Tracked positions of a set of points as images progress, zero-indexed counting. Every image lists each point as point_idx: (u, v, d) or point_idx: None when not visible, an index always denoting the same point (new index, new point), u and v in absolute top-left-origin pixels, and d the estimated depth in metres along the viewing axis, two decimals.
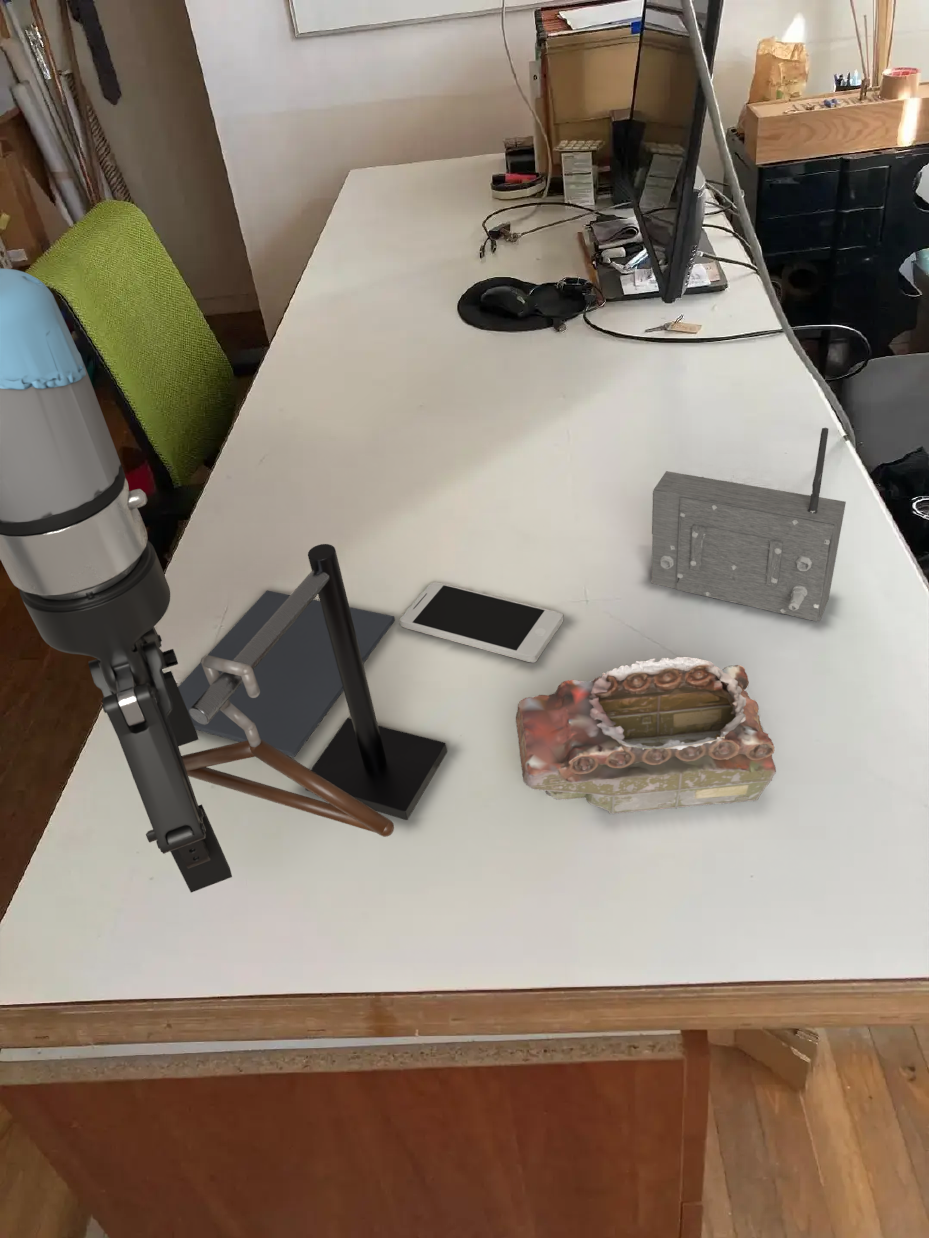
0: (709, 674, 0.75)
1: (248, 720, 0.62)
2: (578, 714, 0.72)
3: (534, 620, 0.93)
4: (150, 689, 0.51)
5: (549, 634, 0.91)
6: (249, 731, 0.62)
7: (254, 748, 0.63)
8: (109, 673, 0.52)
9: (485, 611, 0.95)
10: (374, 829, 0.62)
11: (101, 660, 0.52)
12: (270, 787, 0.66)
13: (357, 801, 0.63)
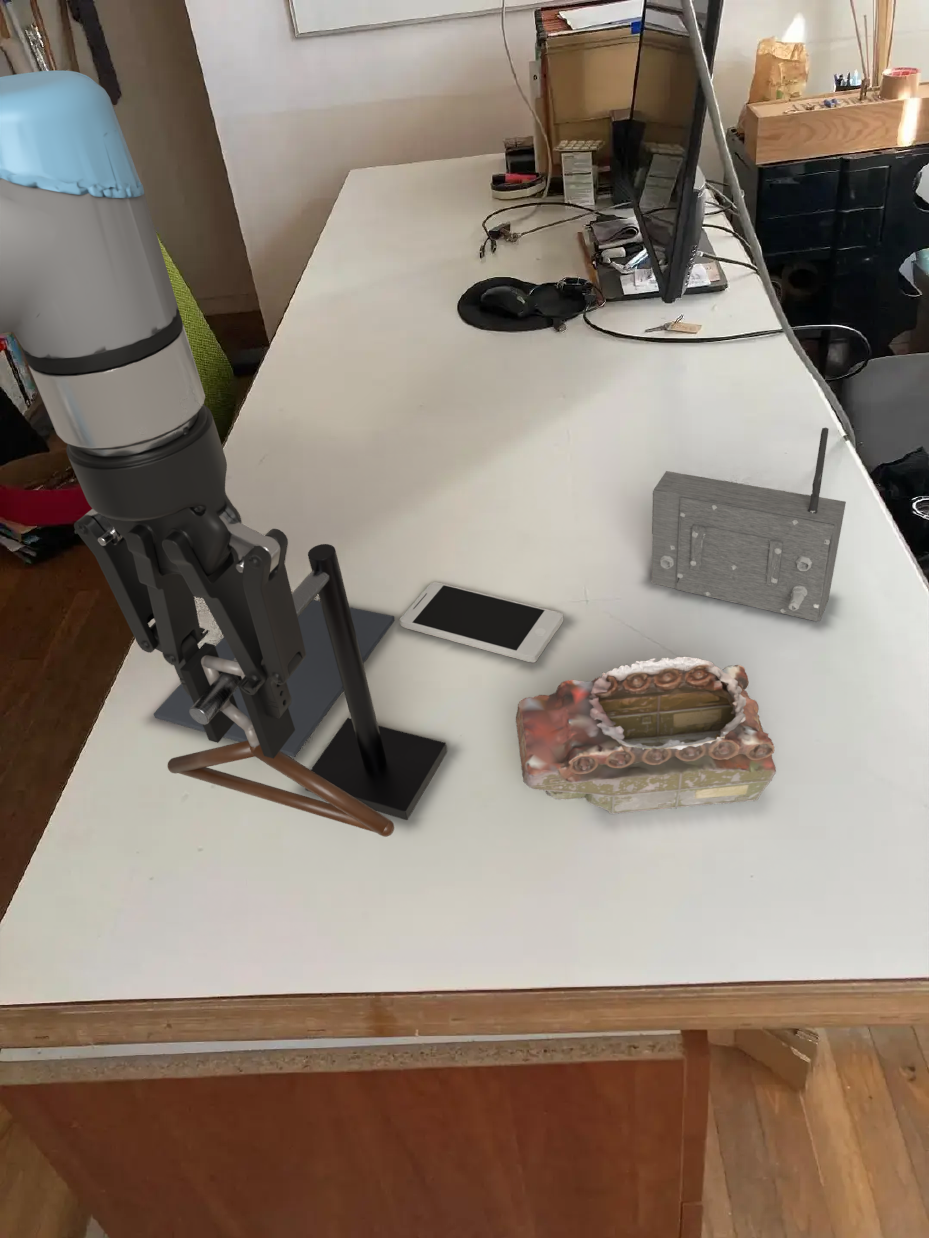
0: (709, 674, 0.75)
1: (248, 720, 0.62)
2: (578, 714, 0.72)
3: (534, 620, 0.93)
4: None
5: (549, 634, 0.91)
6: (249, 731, 0.62)
7: (254, 748, 0.63)
8: (223, 529, 0.49)
9: (485, 611, 0.95)
10: (374, 829, 0.62)
11: (207, 508, 0.48)
12: (270, 787, 0.66)
13: (357, 801, 0.63)
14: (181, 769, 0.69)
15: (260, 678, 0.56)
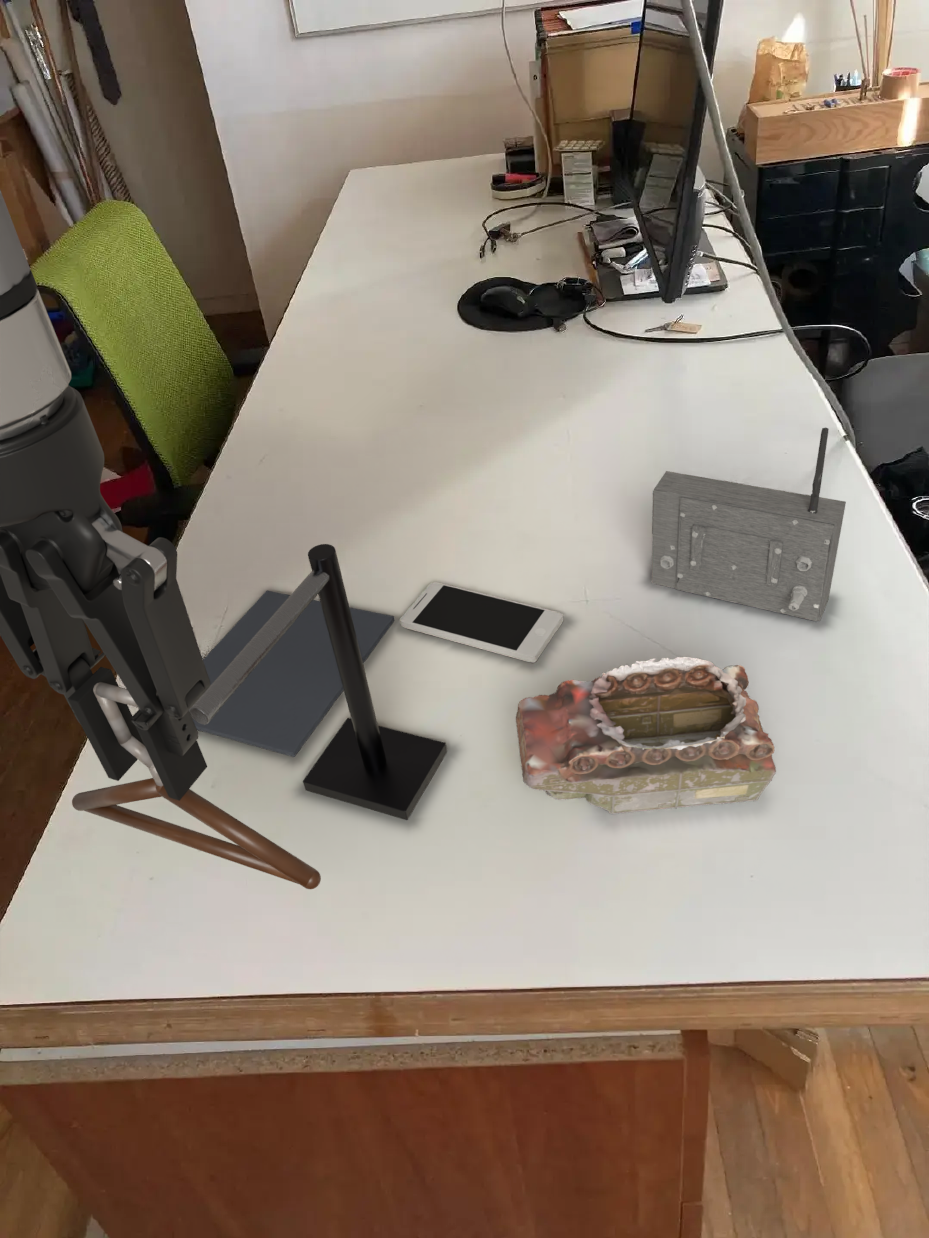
0: (709, 674, 0.75)
1: None
2: (578, 714, 0.72)
3: (534, 620, 0.93)
4: None
5: (549, 634, 0.91)
6: (153, 768, 0.54)
7: (160, 787, 0.55)
8: (97, 538, 0.41)
9: (485, 611, 0.95)
10: (297, 881, 0.55)
11: (74, 512, 0.40)
12: (184, 829, 0.58)
13: (278, 848, 0.55)
14: (86, 807, 0.61)
15: (155, 711, 0.48)
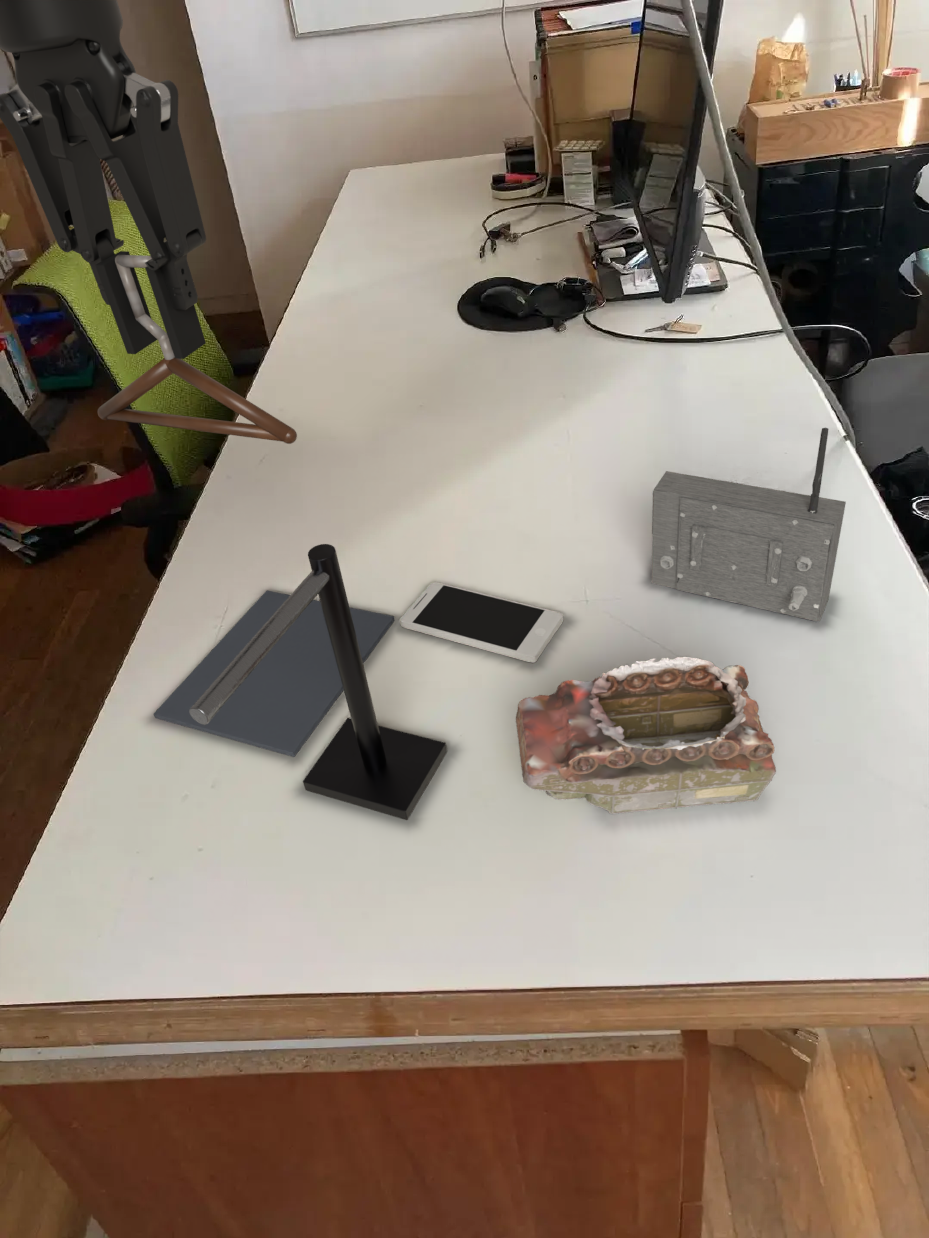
0: (709, 674, 0.75)
1: (162, 330, 0.67)
2: (578, 714, 0.72)
3: (534, 620, 0.93)
4: None
5: (549, 634, 0.91)
6: (162, 340, 0.67)
7: (168, 361, 0.68)
8: (117, 71, 0.55)
9: (485, 611, 0.95)
10: (278, 434, 0.68)
11: (101, 46, 0.54)
12: (188, 416, 0.72)
13: (263, 410, 0.69)
14: (109, 410, 0.74)
15: (163, 254, 0.61)
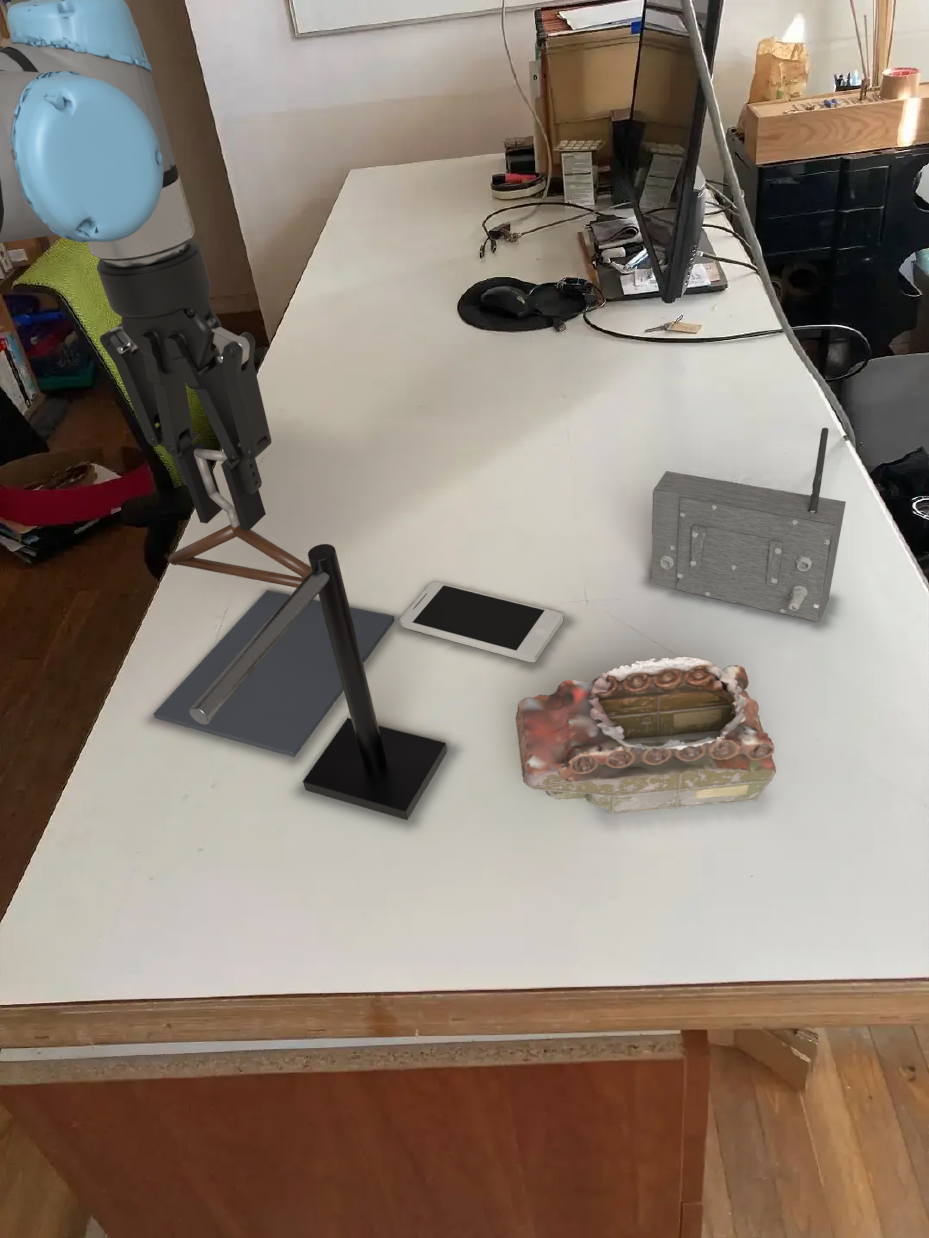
0: (709, 674, 0.75)
1: (230, 504, 0.81)
2: (578, 714, 0.72)
3: (534, 620, 0.93)
4: None
5: (549, 634, 0.91)
6: (230, 512, 0.81)
7: (234, 528, 0.82)
8: (208, 329, 0.69)
9: (485, 611, 0.95)
10: None
11: (196, 312, 0.68)
12: None
13: None
14: (179, 559, 0.88)
15: (237, 456, 0.75)
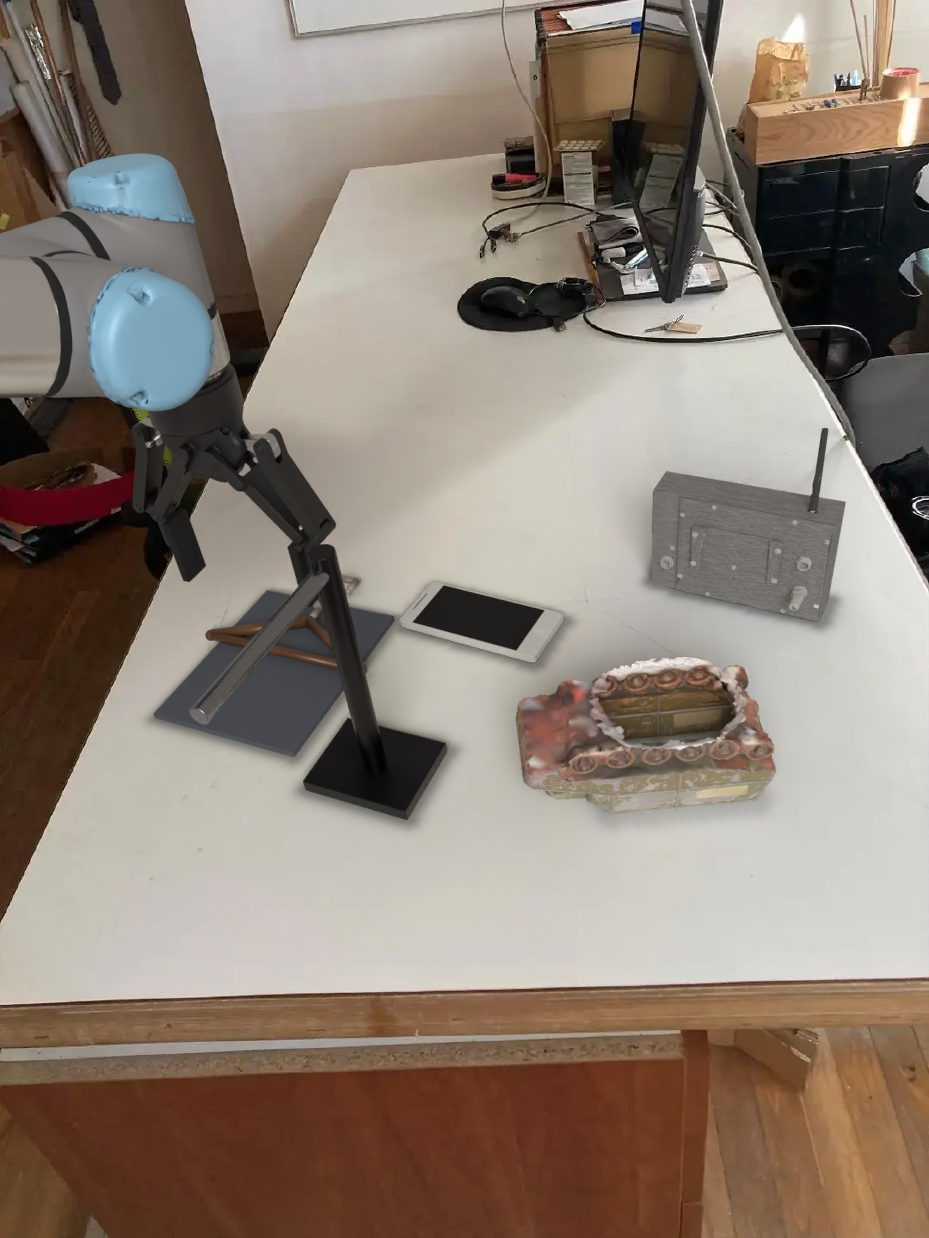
0: (709, 674, 0.75)
1: None
2: (578, 714, 0.72)
3: (534, 620, 0.93)
4: None
5: (549, 634, 0.91)
6: (319, 607, 0.98)
7: (311, 616, 0.97)
8: (237, 438, 0.74)
9: (485, 611, 0.95)
10: None
11: (231, 429, 0.74)
12: None
13: None
14: (222, 629, 0.96)
15: (301, 538, 0.78)
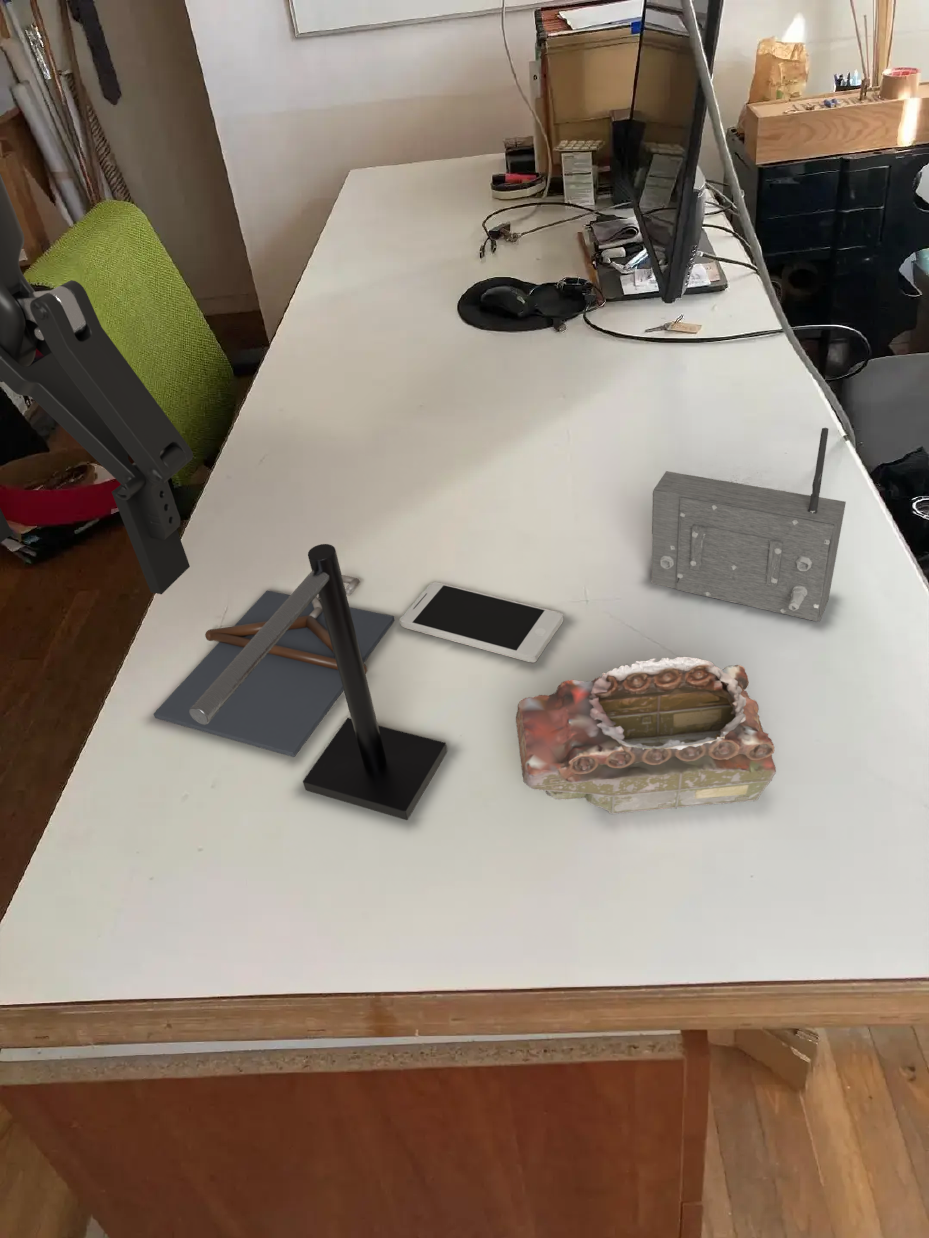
0: (709, 674, 0.75)
1: None
2: (578, 714, 0.72)
3: (534, 620, 0.93)
4: None
5: (549, 634, 0.91)
6: (319, 607, 0.98)
7: (311, 616, 0.97)
8: (7, 296, 0.43)
9: (485, 611, 0.95)
10: None
11: None
12: None
13: None
14: (222, 629, 0.96)
15: (132, 475, 0.46)
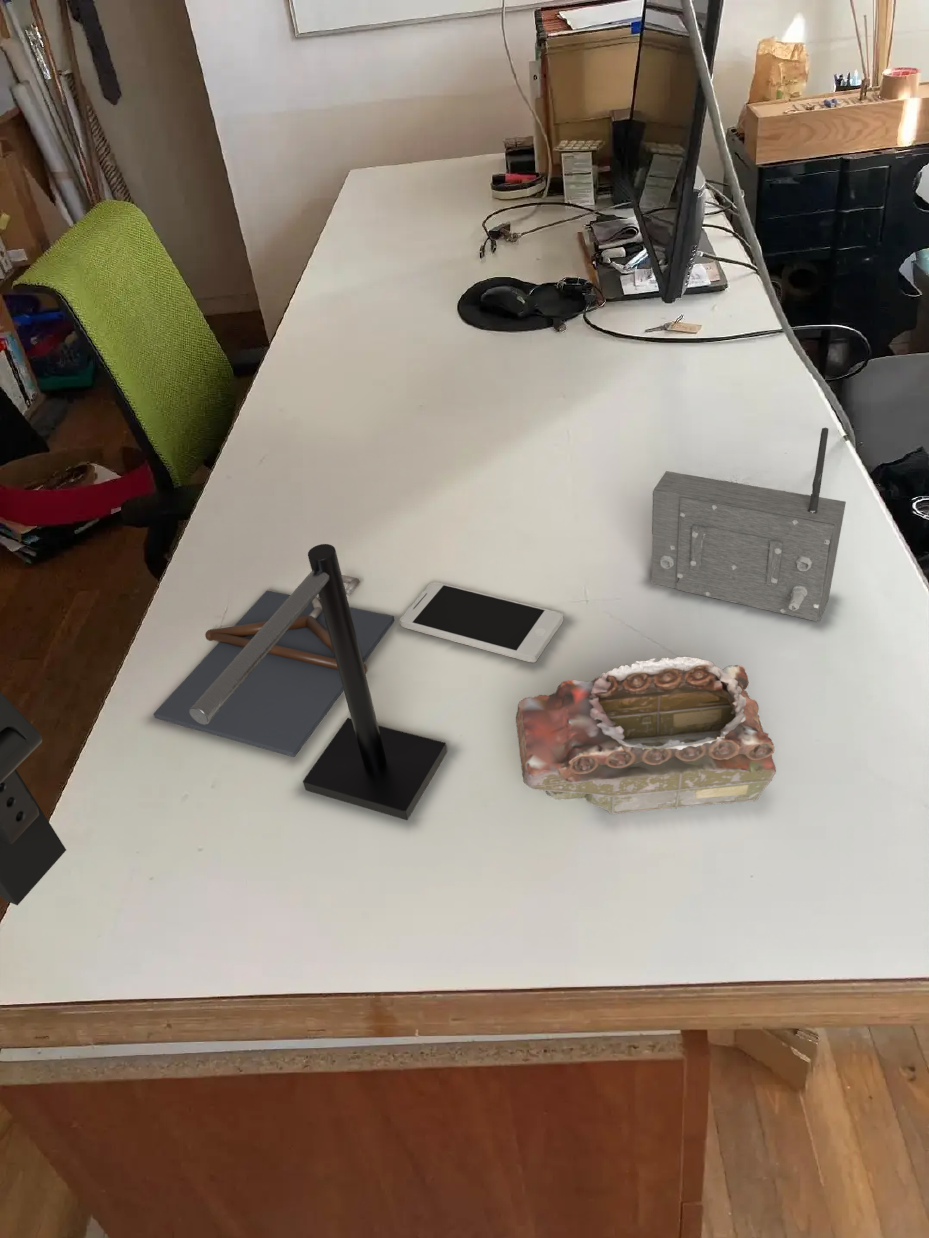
0: (709, 674, 0.75)
1: None
2: (578, 714, 0.72)
3: (534, 620, 0.93)
4: None
5: (549, 634, 0.91)
6: (319, 607, 0.98)
7: (311, 616, 0.97)
8: None
9: (485, 611, 0.95)
10: None
11: None
12: None
13: None
14: (222, 629, 0.96)
15: None
